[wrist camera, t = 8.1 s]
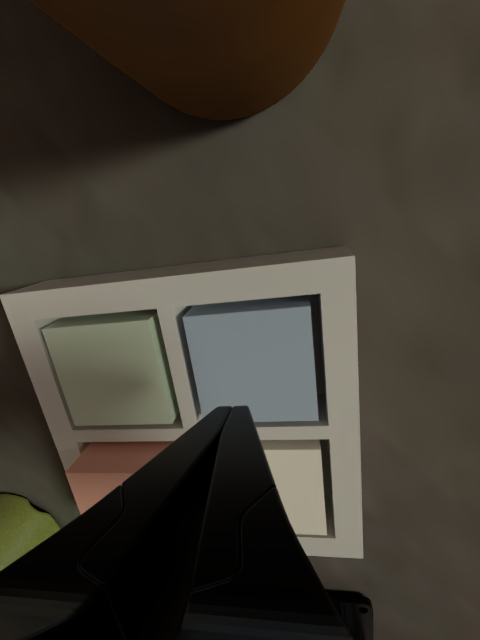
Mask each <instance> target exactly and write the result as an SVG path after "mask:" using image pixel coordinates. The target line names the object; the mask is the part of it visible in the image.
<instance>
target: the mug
mask: <svg viewBox="0 0 480 640" xmlns="http://www.w3.org/2000/svg"><path fill="white" fill-rule="evenodd" d="M28 1H29V2H31V3H32V4H33V5H35V6H36V7H37V8H39V9H40V10H41V11H42V12H44V13H45V14H46V15H48V16H49V17H50V18H52V19H53V20H54V21H56V22H57V23H58V24H60V25H61V26H62V27H63V28H65V29H66V30H67V31H69V32H70V33H71V34H73V35H74V36H75V37H77V38H78V39H79V40H80V41H82V42H83V43H84V44H86V45H87V46H88V47H90V48H91V49H92V50H94V51H95V52H96V53H98V54H99V55H100V56H101V57H103V58H104V59H105V60H107V61H108V62H109V63H111V64H112V65H113V66H115V67H116V68H117V69H119V70H120V71H121V72H123V73H124V74H126V75H127V76H128V77H130V78H131V79H133V80H134V81H136V82H137V83H138V84H140V85H141V86H142V87H144V88H145V89H146V90H148V91H149V92H150V93H151V94H153V95H154V96H155V97H157V98H158V99H160V100H161V101H162V102H164V103H166V104H168V105H169V106H171V107H173V108H175V109H177V110H178V111H181V112H183V113H186V114H188V115H191V116H194V117H198V118H203V119H209V120H232V119H239V118H243V117H248V116H251V115H253V114H256V113H259V112H261V111H263V110H265V109H267V108H269V107H271V106H272V105H274V104H276V103H277V102H279V101H280V100H281V99H283V98H284V97H285V96H287V95H288V94H289V93H290V92H291V91H292V90H293V89H294V88H295V87H296V86H297V85H298V84H300V83H301V82H302V80H303V79H304V78H305V77H306V75H307V74H308V73H309V72H310V71H311V69H312V68H313V67H314V66H315V64H316V62H317V61H318V59H319V58H320V56H321V55H322V53H323V52H324V50H325V48H326V46H327V44H328V42H329V40H330V38H331V36H332V34H333V32H334V30H335V27H336V25H337V22H338V19H339V17H340V14H341V11H342V9H343V6H344V3H345V0H28Z"/></svg>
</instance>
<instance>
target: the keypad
mask: <svg viewBox="0 0 480 640" xmlns="http://www.w3.org/2000/svg"><path fill="white" fill-rule="evenodd" d="M300 295H309V300H310V307H311V321H312V335H313V348H314V362H315V376H316V390H317V403H318V417H319V421H282V422H254V423H255V426H256V429H257V432H258V435H259V438H260V440H316V439H320V446H321V458H322V472H323V486H324V500H325V513H326V527H327V535H307V534H296V536H297V538H298V540H299V542H300V544H301V546H302V548H303V549H304V551H305V553H306V555H307V556H325V557H344V558H362V559H363V529H362V493H361V457H360V420H359V384H358V347H357V311H356V274H355V255H354V254H352V253H351V252H350V251H349V250H348V249H347V248H345V247H344V246H336V247H327V248H319V249H310V250H301V251H293V252H284V253H276V254H267V255H259V256H250V257H242V258H233V259H225V260H216V261H208V262H199V263H191V264H182V265H174V266H165V267H157V268H148V269H139V270H131V271H122V272H114V273H105V274H97V275H88V276H80V277H71V278H63V279H54V280H46V281H43V282H40V283H37V284H33V285H30V286H27V287H24V288H21V289H17V290H14V291H11V292H8V293H5V294H1V295H0V299H1V302H2V304H3V307H4V310H5V312H6V315H7V318H8V320H9V323H10V326H11V328H12V331H13V334H14V336H15V339H16V342H17V344H18V347H19V350H20V352H21V355H22V358H23V360H24V363H25V365H26V368H27V371H28V373H29V376H30V379H31V381H32V384H33V387H34V389H35V392H36V395H37V397H38V400H39V403H40V405H41V408H42V411H43V413H44V416H45V419H46V421H47V424H48V427H49V429H50V432H51V435H52V437H53V440H54V443H55V445H56V448H57V451H58V453H59V456H60V459H61V461H62V464H63V466H64V469H65V472H66V471H67V470H68V469H69V468H70V466H71V465H72V464H73V463H74V462H75V461H76V459H77V458H78V457H79V456H80V455H81V453H82V452H83V451H84V450H85V449H86V448H87V446H88V445H89V444H90V443H91V442H132V441H175V440H176V439H177V438H179V437H180V436H181V435H182V434H184V433H185V432H186V431H187V430H189V429H190V428H191V427H192V426H194V425H195V424H196V423H197V422H199V421H200V420H201V419H202V418H203V417H202V412H201V407H200V402H199V397H198V392H197V387H196V382H195V377H194V372H193V368H192V363H191V358H190V353H189V348H188V343H187V338H186V333H185V328H184V323H183V318H182V317H183V316H184V315H185V314H186V313H187V312H188V311H189V310H190V309H191V308H192V307H193V306H194V305H202V304H213V303H224V302H235V301H246V300H257V299H267V298H278V297H289V296H300ZM148 309H157V313H158V317H159V322H160V326H161V330H162V335H163V339H164V344H165V348H166V353H167V357H168V361H169V366H170V370H171V375H172V379H173V384H174V388H175V393H176V397H177V401H178V406H179V410H180V411H179V413H178V415H177V417H176V418H175V420H174V422H173V424H143V425H96V426H75V425H74V422H73V419H72V416H71V413H70V410H69V407H68V405H67V402H66V399H65V396H64V393H63V390H62V387H61V384H60V381H59V379H58V376H57V373H56V370H55V367H54V364H53V361H52V358H51V356H50V353H49V350H48V347H47V344H46V341H45V338H44V335H43V332H42V330H41V329H43V328H45V327H47V326H49V325H51V324H53V323H55V322H57V321H59V320H61V319H63V318H65V317H72V316H83V315H94V314H104V313H115V312H126V311H137V310H148Z"/></svg>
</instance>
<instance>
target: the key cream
mask: <svg viewBox="0 0 480 640" xmlns="http://www.w3.org/2000/svg"><path fill="white" fill-rule="evenodd" d="M260 441H261V444H262V446H263V449H264V452H265V455H266V458H267V461H268V464H269V467H270V470H271V473H272V475H273V478H274V481H275V484H276V488H277V489H278V492H279V495H280V498H281V501H282V504H283V506H284V509H285V511H286V514H287V516H288V519H289V521H290V523H291V525H292V527H293V529H294V532H295V534H307V535H327V527H326V513H325V500H324V486H323V472H322V458H321V446H320V439H316V440H260Z"/></svg>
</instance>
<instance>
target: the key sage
mask: <svg viewBox="0 0 480 640" xmlns="http://www.w3.org/2000/svg"><path fill="white" fill-rule="evenodd" d="M41 330H42V332H43V335H44V338H45V341H46V344H47V347H48V350H49V353H50V356H51V358H52V361H53V364H54V367H55V370H56V373H57V376H58V379H59V381H60V384H61V387H62V390H63V393H64V396H65V399H66V402H67V405H68V407H69V410H70V413H71V416H72V419H73V422H74V425H75V426H96V425H143V424H173V422H174V420H175V418H176V417H177V415H178V413H179V411H180V410H179V406H178V401H177V397H176V393H175V388H174V384H173V379H172V375H171V370H170V366H169V361H168V357H167V353H166V348H165V344H164V339H163V335H162V330H161V326H160V322H159V317H158V313H157V309H148V310H137V311H126V312H115V313H104V314H94V315H83V316H72V317H65V318H63V319H61V320H59V321H57V322H55V323H53V324H51V325H49V326H47V327H45V328H43V329H41Z"/></svg>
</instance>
